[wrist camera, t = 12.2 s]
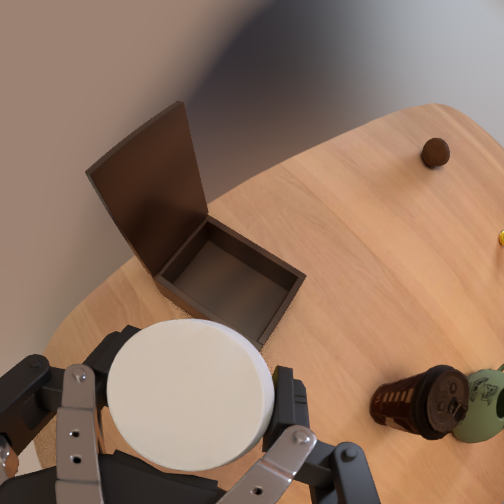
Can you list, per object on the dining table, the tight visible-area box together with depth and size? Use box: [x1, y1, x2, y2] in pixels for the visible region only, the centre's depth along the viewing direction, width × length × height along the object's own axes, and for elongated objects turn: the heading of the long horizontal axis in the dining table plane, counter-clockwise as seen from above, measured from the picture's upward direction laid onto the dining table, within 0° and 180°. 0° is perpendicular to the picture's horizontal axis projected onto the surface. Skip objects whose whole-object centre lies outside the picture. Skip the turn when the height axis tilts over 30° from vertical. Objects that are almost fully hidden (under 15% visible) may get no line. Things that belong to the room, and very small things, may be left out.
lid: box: [85, 101, 208, 276], centre depth 27 cm, size 16×11×1 cm
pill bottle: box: [107, 319, 275, 471], centre depth 12 cm, size 6×6×12 cm
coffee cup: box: [370, 365, 470, 440], centre depth 26 cm, size 9×8×13 cm
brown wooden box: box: [152, 214, 307, 352], centre depth 35 cm, size 15×11×6 cm
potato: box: [422, 138, 450, 167], centre depth 54 cm, size 7×10×7 cm
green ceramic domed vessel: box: [452, 364, 504, 443], centre depth 28 cm, size 16×13×9 cm
